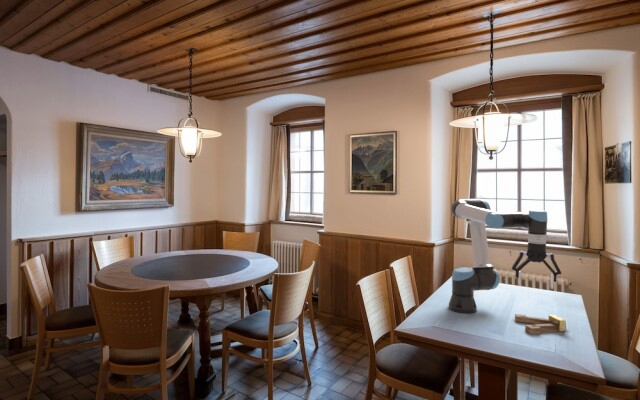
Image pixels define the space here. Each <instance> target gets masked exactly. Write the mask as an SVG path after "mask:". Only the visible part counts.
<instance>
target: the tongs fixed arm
mask: <svg viewBox="0 0 640 400" xmlns="http://www.w3.org/2000/svg"><path fill="white" fill-rule="evenodd" d="M524 331H525V332H526V333H528V334H530V335H540V334H541V333H547V332H548V333H550V332H559V331H558V324H556V323H553V324H525V327H524Z"/></svg>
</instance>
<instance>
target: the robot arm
mask: <svg viewBox="0 0 640 400" xmlns="http://www.w3.org/2000/svg"><path fill="white" fill-rule="evenodd" d="M450 211H451V215H453V216H454V217H455V218H458V219H461V220H462V219H464V220H466V221H465V222H466V223H468V224H469V230H470V231H469V232H470V237H471V238H470V241H471V246H472V247H471V248H472V255H473V264H472V266H471V267H465V266H464V267H458V268H455V269H453V271H452V277H451V296H450V299H449V302H448V308H449V309H450V310H451V311H453V312H456V313H460V314H474V313H475V312H477V310H478V309H477V307H478V306H477V303H476V300H475V296H474V292H475V291H490V290H495V289H496V288H498V286H499V284H500V282H501V281H500V279H501V278H500V274H499V272H498V270H496V269H495V267H494V265H492V264H491V259H490V251H489V246H488V235H487V230H486V226H487V227H488V228H489V229H512V228H513V229H516V228H517V229H519V228H521V229H522V228H523V229H527V230H528V231H527V241H528V242H527V251H526V252H525V251H523V250H520V251H519V255H518V257H517V258H516V260H515V262H514V263H513V264H512V266H511V270H512V271H515V278H516V279H517V285H518V286H521V277H522V276H521V275H522V272H521V270H522V269H523V268H524V267H525V266H527V265H528V264H529V263H530V262H532V263H540V264H541V263H543V264H544V266H546V268H548V270H549V271H550V272H551V274H550V286H549V288H550V290H553V289H554V283H555V282H557V276H558V275H561V274H562V271H561V270H560V267H559V266H558V264H557V261H556V259H555V255H554V254H553V252H552V253H551V252H550V253H547V244H546V243H547V231H548V230H547V229H548V212H547V211H546V210H543V209H542V210H541V209H530V210H529V211H528V212H522V211H513V212H499V211H493V210H491V206H490V204H489V201H487V200H486V199H483V198H461V199H459V198H458V199H457V200H455V201H453V203H452V204H451V206H450ZM525 256H527V258H526V259H525V260H524V261H522V259H523V257H525ZM546 258H548V259H550V261H551V263H552V265H553V267H554V268H552V267H551V265H550V264H549V263H548V262H547V261H546V260H545V259H546ZM521 261H522V263H521V264H519V263H520V262H521ZM554 269H555V270H556V271H555V270H554Z"/></svg>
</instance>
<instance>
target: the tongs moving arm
mask: <svg viewBox="0 0 640 400" xmlns="http://www.w3.org/2000/svg"><path fill="white" fill-rule="evenodd" d="M514 320H515V322H521V323H527V324H531V325H534V324H553V323H554V322H552V321H550V320H549V318H543V317H535V316H527V315H526V314H519V313H514ZM566 329H567V324H566V325H565V330H566Z"/></svg>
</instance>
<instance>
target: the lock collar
mask: <svg viewBox="0 0 640 400" xmlns="http://www.w3.org/2000/svg"><path fill="white" fill-rule="evenodd" d="M548 319H549V320H550V321H552V322H554V323H556V324H558V331H557V332H565V331H566V329H565V325H566V326H567V321H566V320H565V319H564V318H562V317H560V316H557V315H555V314H549V315H548Z"/></svg>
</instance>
